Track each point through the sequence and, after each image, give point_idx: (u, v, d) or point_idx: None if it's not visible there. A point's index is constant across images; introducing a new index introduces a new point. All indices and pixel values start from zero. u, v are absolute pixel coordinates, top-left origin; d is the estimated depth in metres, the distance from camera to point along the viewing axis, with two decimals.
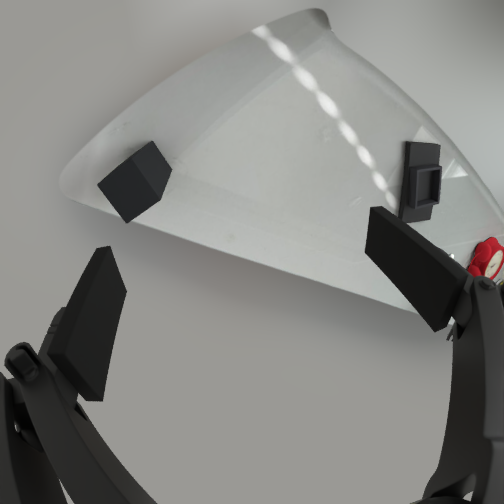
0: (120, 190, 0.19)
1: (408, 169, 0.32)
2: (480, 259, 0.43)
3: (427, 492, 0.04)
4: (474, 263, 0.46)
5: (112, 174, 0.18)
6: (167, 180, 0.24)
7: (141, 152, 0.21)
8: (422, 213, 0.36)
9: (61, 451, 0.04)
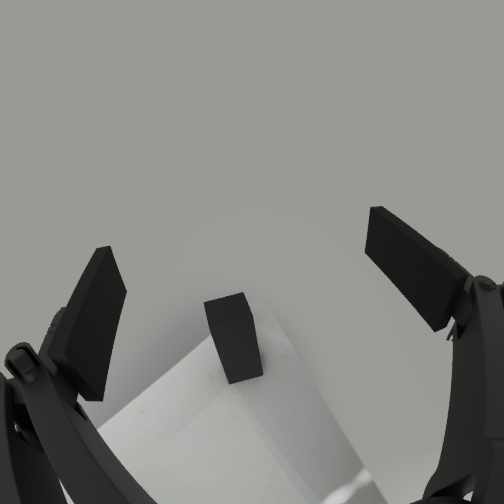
0: (230, 304, 0.26)
1: None
2: None
3: (427, 492, 0.04)
4: None
5: (245, 302, 0.26)
6: (221, 361, 0.27)
7: (254, 339, 0.26)
8: None
9: (61, 451, 0.04)
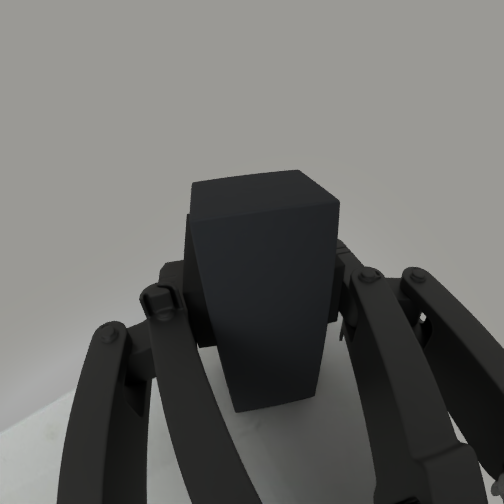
0: (266, 182, 0.09)
1: None
2: None
3: None
4: None
5: (310, 180, 0.09)
6: (222, 357, 0.09)
7: (325, 297, 0.09)
8: None
9: (181, 398, 0.05)
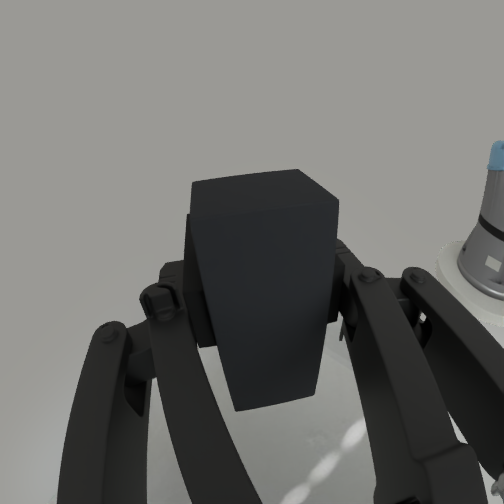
0: (266, 182, 0.09)
1: None
2: None
3: None
4: None
5: (309, 179, 0.09)
6: (222, 356, 0.09)
7: (325, 296, 0.09)
8: None
9: (181, 398, 0.05)
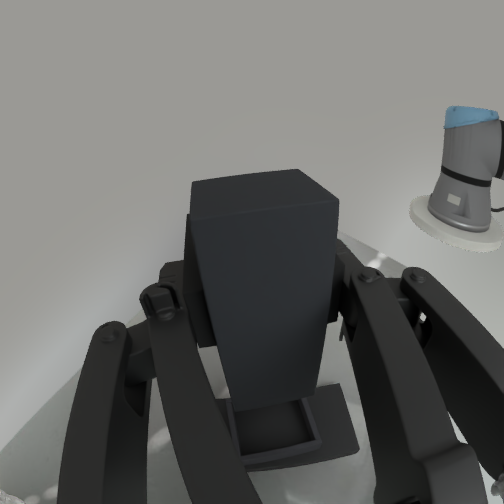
0: (266, 182, 0.09)
1: None
2: None
3: None
4: None
5: (309, 179, 0.09)
6: (222, 356, 0.09)
7: (325, 296, 0.09)
8: None
9: (181, 398, 0.05)
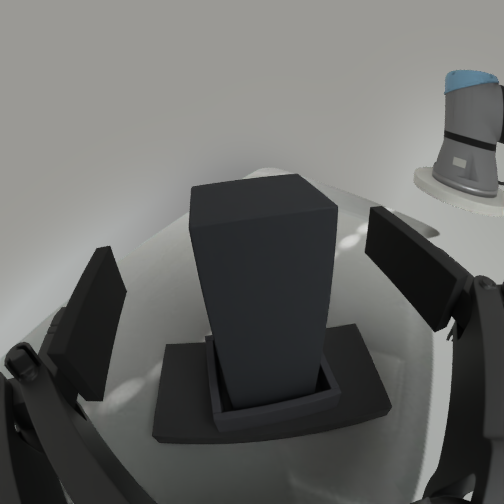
0: (265, 187, 0.09)
1: None
2: None
3: (427, 492, 0.04)
4: None
5: (309, 185, 0.09)
6: (221, 359, 0.10)
7: (324, 301, 0.09)
8: (179, 401, 0.13)
9: (61, 451, 0.04)
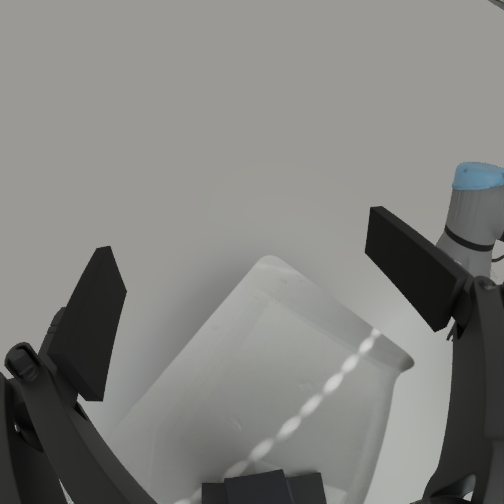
0: (263, 489, 0.13)
1: None
2: None
3: (427, 492, 0.04)
4: None
5: (285, 488, 0.13)
6: None
7: None
8: None
9: (61, 451, 0.04)
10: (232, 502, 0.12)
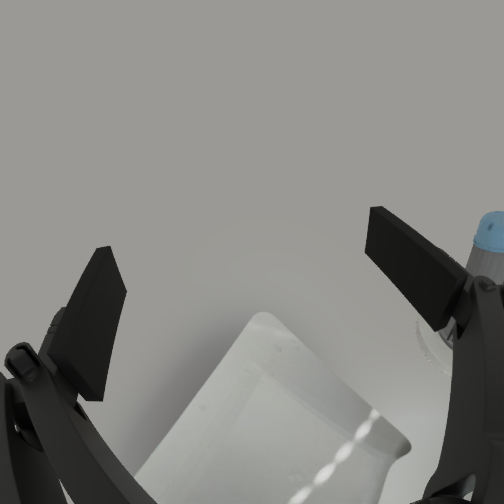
0: None
1: None
2: None
3: (427, 492, 0.04)
4: None
5: None
6: None
7: None
8: None
9: (61, 451, 0.04)
10: None
